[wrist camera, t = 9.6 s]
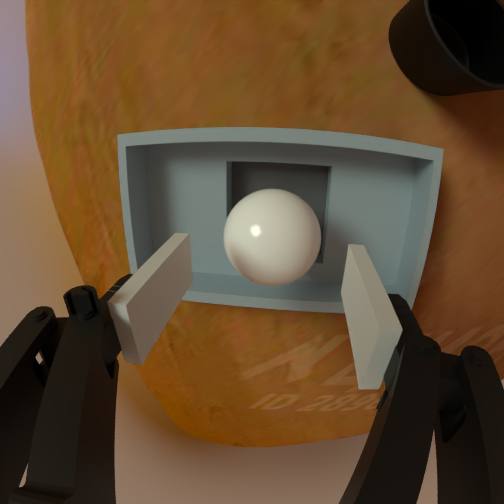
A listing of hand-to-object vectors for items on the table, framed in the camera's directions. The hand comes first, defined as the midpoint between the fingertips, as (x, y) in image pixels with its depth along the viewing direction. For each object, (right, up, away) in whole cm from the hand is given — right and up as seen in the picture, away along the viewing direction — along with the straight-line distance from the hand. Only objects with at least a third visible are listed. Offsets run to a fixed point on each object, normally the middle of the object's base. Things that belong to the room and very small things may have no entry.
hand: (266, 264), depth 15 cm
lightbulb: (+2, +5, +12) cm, 13 cm away
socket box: (+2, +5, +12) cm, 13 cm away
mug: (+17, +19, +4) cm, 26 cm away
